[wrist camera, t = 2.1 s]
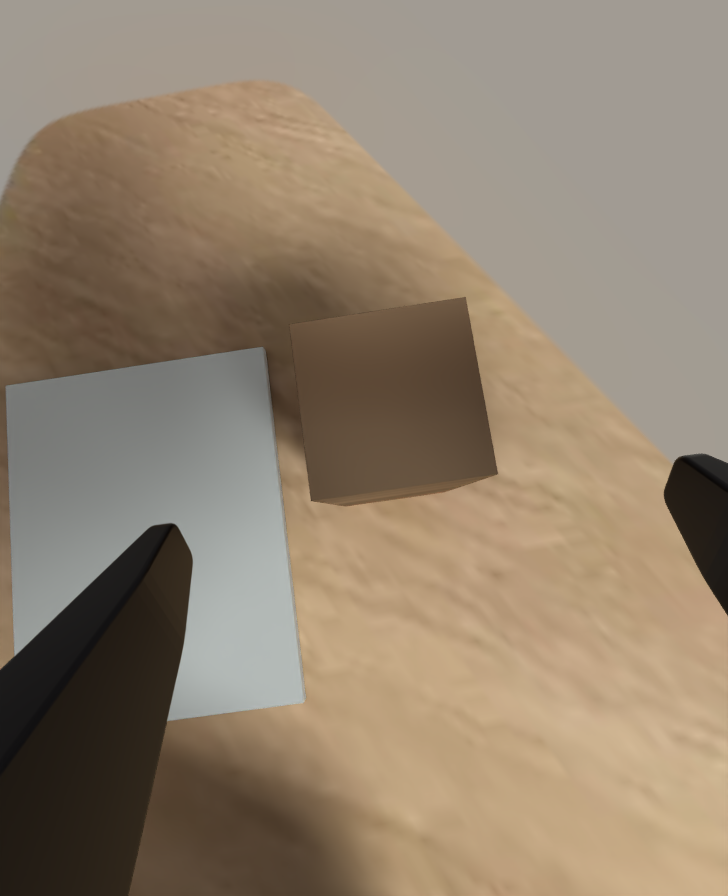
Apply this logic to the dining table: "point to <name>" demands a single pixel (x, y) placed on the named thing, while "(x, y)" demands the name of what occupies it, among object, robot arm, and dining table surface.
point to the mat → (162, 512)
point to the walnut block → (391, 403)
